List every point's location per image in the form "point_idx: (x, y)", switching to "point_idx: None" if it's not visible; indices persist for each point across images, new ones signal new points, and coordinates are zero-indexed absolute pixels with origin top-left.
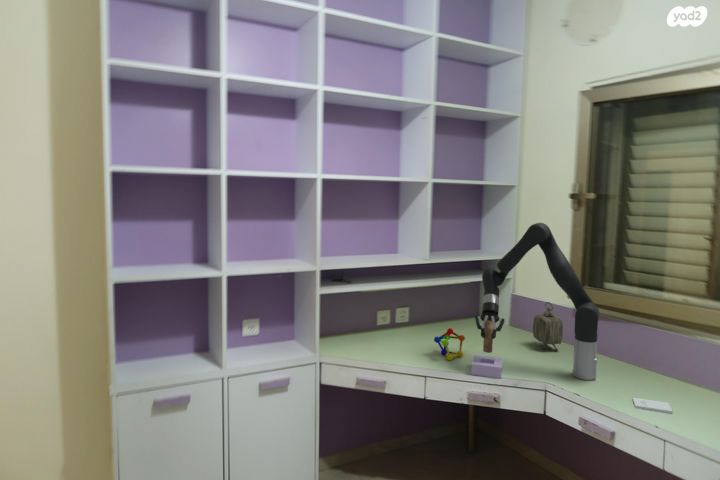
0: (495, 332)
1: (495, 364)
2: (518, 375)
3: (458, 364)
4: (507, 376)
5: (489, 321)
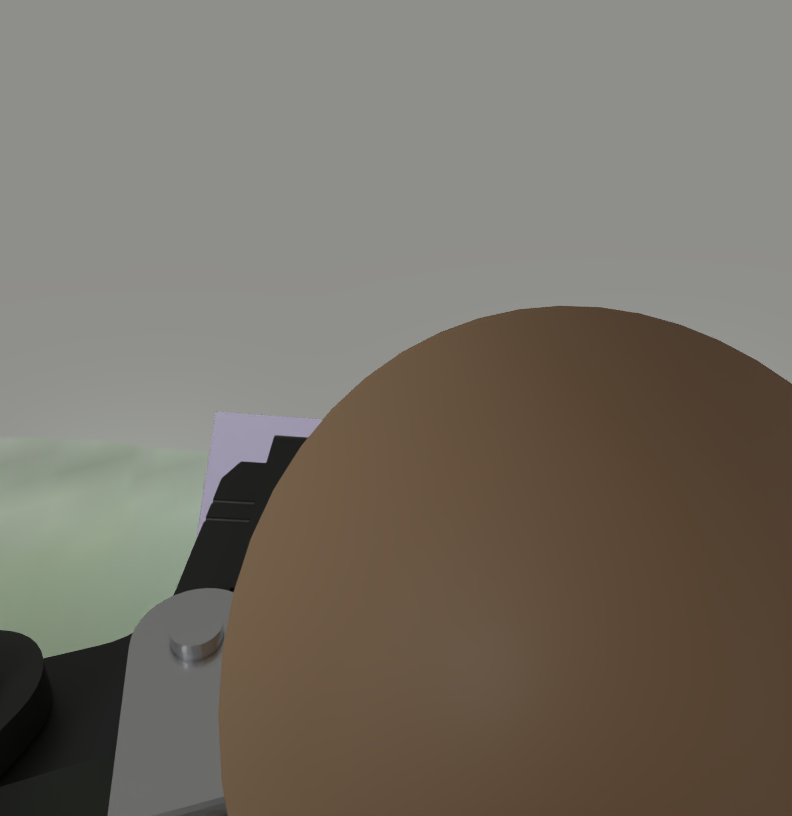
0: (210, 552)
1: None
2: (44, 573)
3: None
4: (167, 511)
5: (597, 719)
